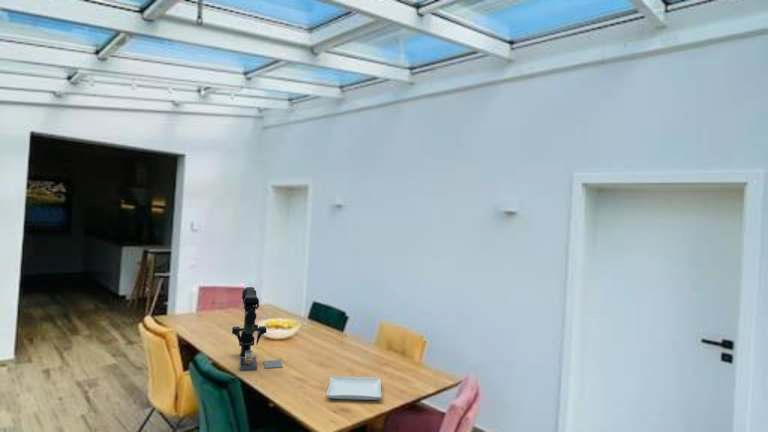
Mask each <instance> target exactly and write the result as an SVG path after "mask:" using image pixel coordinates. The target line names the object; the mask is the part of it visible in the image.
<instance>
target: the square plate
mask: <svg viewBox="0 0 768 432" xmlns="http://www.w3.org/2000/svg"><path fill="white" fill-rule="evenodd" d="M381 381H382V379H381V378H380V377H366V376H365V377H363V376H330V378H329V385H328V387H327V391H326V396H327V397H328V398H329V399H335V400H354V401H355V400H357V401H373V400H375V401H376V400H380V399H381V398H382V396H383V394H382V388H381V387H382V386H381Z"/></svg>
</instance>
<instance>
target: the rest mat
mask: <svg viewBox="0 0 768 432" xmlns="http://www.w3.org/2000/svg"><path fill="white" fill-rule="evenodd" d="M263 366H264V369H266V370H267V369H282V368H284V367H283V363H282V361H281V359H276V360H275V359H274V360H273V359H272V360H263Z"/></svg>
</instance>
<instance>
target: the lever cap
mask: <svg viewBox="0 0 768 432" xmlns="http://www.w3.org/2000/svg"><path fill="white" fill-rule="evenodd" d="M253 357H254V352H253V350H248V351H245V356H244V358H245V362H246V360H247V358H252V360H253Z"/></svg>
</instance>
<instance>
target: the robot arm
mask: <svg viewBox="0 0 768 432" xmlns="http://www.w3.org/2000/svg"><path fill="white" fill-rule="evenodd" d="M241 300H242V303H243V310H244V318H243V319H244V320H243V327H242V328H241V327H240V326H232V328H231V329H232V332H231V333H232V335H234V336H236V337H237V340H238V346H239V347H240V352H239V356H240V357H245V351H248V350H250V351H252V349H251V348H252V346H255V345H258V344H259V341H260V339H261V337H262V336H263V335H264V334H266V333H267V327H266V326H265V325H259V324H256V320H257V312H256V310H258V309H259V307H260V300H259V298H258V295H257V291H256V290H255V287H254V286H247V287H245V289H243V290H242V293H241ZM255 332H257V336H256V338H255V336H254V334H255ZM255 340H256V344H255Z"/></svg>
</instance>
